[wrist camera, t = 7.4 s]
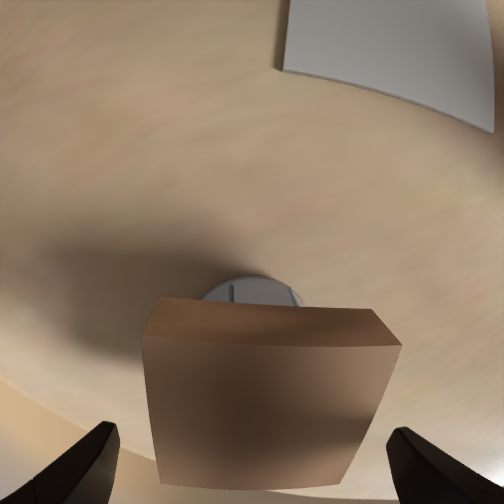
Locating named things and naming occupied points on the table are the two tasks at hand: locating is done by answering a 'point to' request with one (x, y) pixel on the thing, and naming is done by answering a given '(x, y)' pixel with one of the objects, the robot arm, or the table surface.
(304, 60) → the mat
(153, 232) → the table surface
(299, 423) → the block
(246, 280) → the grey ring collar
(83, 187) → the table surface
